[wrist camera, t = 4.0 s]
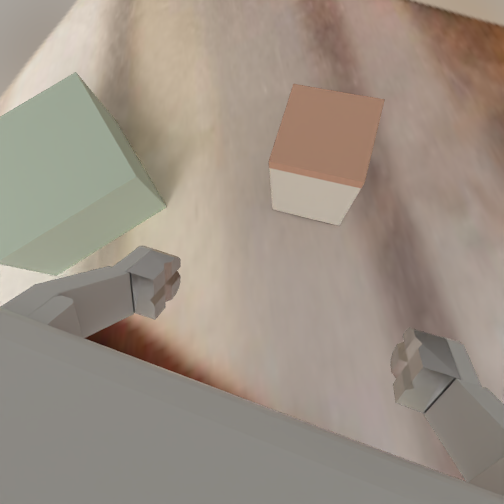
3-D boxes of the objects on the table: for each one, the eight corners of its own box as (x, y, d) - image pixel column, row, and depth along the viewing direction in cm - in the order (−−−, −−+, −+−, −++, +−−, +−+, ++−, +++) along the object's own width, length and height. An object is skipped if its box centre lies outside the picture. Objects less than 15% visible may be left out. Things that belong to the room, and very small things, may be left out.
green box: (57, 275, 27) (-5, 263, 21) (15, 179, 30) (-49, 145, 24) (167, 207, 27) (136, 176, 22) (115, 119, 30) (75, 72, 25)
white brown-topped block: (339, 225, 25) (364, 182, 17) (272, 209, 26) (268, 161, 18) (354, 165, 26) (384, 99, 19) (290, 151, 27) (293, 83, 20)
